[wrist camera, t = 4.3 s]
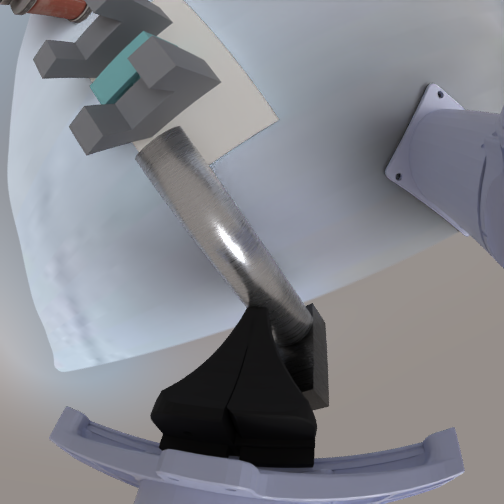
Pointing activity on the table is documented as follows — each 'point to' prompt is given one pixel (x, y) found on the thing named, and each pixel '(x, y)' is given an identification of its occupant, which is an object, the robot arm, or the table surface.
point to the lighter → (51, 8)
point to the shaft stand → (159, 80)
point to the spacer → (119, 73)
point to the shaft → (239, 256)
